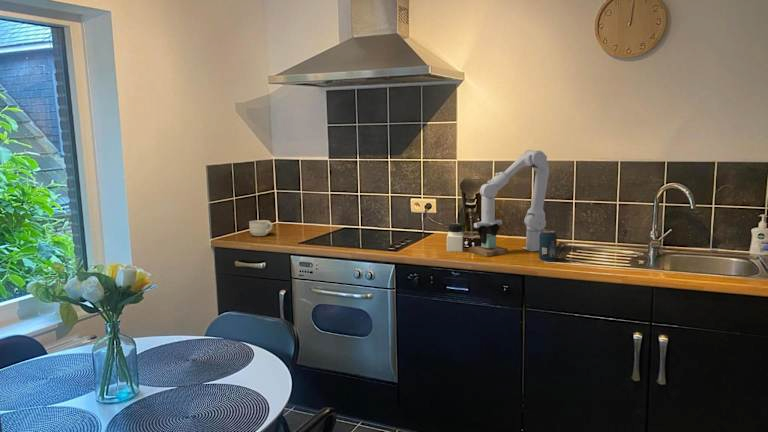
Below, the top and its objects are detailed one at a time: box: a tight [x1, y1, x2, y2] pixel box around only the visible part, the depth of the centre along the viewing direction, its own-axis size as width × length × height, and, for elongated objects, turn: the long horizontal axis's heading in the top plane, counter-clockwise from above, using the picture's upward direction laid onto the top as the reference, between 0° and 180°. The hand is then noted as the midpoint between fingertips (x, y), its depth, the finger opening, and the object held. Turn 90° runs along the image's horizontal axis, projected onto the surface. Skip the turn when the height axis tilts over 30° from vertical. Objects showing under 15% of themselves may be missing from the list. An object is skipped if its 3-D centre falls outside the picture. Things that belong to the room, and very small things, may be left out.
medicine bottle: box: [446, 223, 465, 253], centre depth 269 cm, size 7×7×12 cm
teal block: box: [480, 233, 497, 248], centre depth 263 cm, size 4×4×5 cm
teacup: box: [248, 219, 274, 237], centre depth 316 cm, size 14×11×8 cm
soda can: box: [538, 229, 558, 262], centre depth 247 cm, size 7×7×12 cm
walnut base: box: [468, 245, 508, 258], centre depth 264 cm, size 12×12×2 cm
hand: (487, 242), depth 263 cm, fingers closed on teal block, 4 cm apart
